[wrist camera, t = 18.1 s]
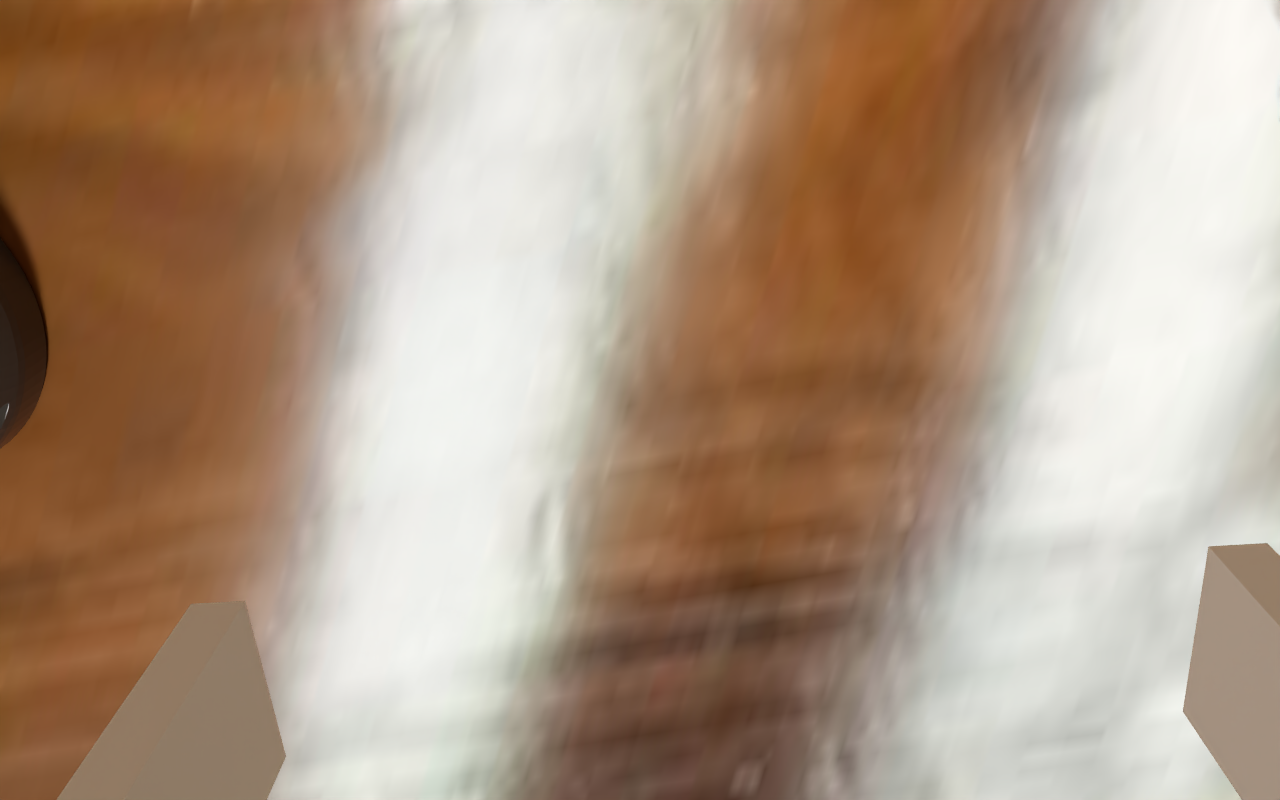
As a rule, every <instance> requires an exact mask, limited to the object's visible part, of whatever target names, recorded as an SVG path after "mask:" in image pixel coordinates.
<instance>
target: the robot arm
mask: <svg viewBox="0 0 1280 800" xmlns="http://www.w3.org/2000/svg"><path fill="white" fill-rule="evenodd" d="M46 360H47V352H46V338H45V331H44V326H43V321H42V317H41V313H40V310H39V307H38V304H37V301H36V298H35V296H34V293H33V291H32V289H31V286H30V284H29V282H28V280H27V278H26V276H25V274H24V272H23V271H22V269H21V267H20V266H19V264H18V262H17V261H16V259H15V258H14V256H13V255H12V253H11V252H10V250H9V249H8V248H7V246H6V245H5V244H4V242H3V241H2V240H1V239H0V448H2V447H3V446H4V445H5V444H7V443H8V442H9V441H10V440H11V439H12V438H13V437H14V436H15V435H16V434H17V433H18V432H19V431H20V430H21V429H22V428H23V426H24V425H25V424H26V422H27V421H28V419H29V418H30V416H31V414H32V412H33V411H34V409H35V407H36V404H37V402H38V400H39V397H40V394H41V391H42V388H43V383H44V379H45V372H46ZM1183 712H1184V714H1185V715H1186V717H1187V718H1188V720H1189V721H1190V723H1191V724H1192V726H1193V727H1194V729H1195V730H1196V732H1197V733H1198V735H1199V736H1200V738H1201V739H1202V741H1203V742H1204V744H1205V745H1206V747H1207V748H1208V750H1209V751H1210V753H1211V754H1212V756H1213V757H1214V759H1215V760H1216V762H1217V763H1218V765H1219V766H1220V768H1221V769H1222V771H1223V772H1224V773H1225V775H1226V776H1227V778H1228V779H1229V781H1230V782H1231V784H1232V785H1233V787H1234V788H1235V790H1236V791H1237V793H1238V794H1239V796H1240V797H1241V799H1242V800H1280V556H1279V555H1278V554H1277V553H1276V552H1275V551H1274V550H1273V549H1272V548H1271V547H1270V546H1269V545H1268V544H1267V543H1263V544H1245V545H1227V546H1210V547H1208V553H1207V560H1206V566H1205V573H1204V579H1203V585H1202V592H1201V598H1200V605H1199V611H1198V618H1197V624H1196V630H1195V637H1194V643H1193V650H1192V656H1191V662H1190V669H1189V675H1188V682H1187V688H1186V694H1185V701H1184V707H1183ZM285 757H286V755H285V751H284V747H283V743H282V739H281V736H280V732H279V728H278V724H277V720H276V717H275V713H274V709H273V705H272V701H271V698H270V694H269V690H268V686H267V682H266V679H265V675H264V671H263V667H262V663H261V660H260V656H259V652H258V648H257V644H256V641H255V637H254V633H253V629H252V625H251V622H250V618H249V614H248V610H247V606H246V603H245V601H236V602H218V603H200V604H191V605H190V606H189V608H188V609H187V611H186V612H185V614H184V615H183V617H182V618H181V619H180V621H179V622H178V624H177V625H176V627H175V628H174V630H173V631H172V633H171V634H170V635H169V637H168V638H167V640H166V641H165V643H164V644H163V646H162V647H161V649H160V650H159V651H158V653H157V654H156V656H155V657H154V659H153V660H152V662H151V663H150V665H149V666H148V667H147V669H146V670H145V672H144V673H143V675H142V676H141V678H140V679H139V681H138V682H137V683H136V685H135V686H134V688H133V689H132V691H131V692H130V694H129V695H128V697H127V698H126V699H125V701H124V702H123V704H122V705H121V707H120V708H119V710H118V711H117V713H116V714H115V715H114V717H113V718H112V720H111V721H110V723H109V724H108V726H107V727H106V728H105V730H104V731H103V733H102V734H101V736H100V737H99V739H98V740H97V742H96V743H95V744H94V746H93V747H92V749H91V750H90V752H89V753H88V755H87V756H86V758H85V759H84V760H83V762H82V763H81V765H80V766H79V768H78V769H77V771H76V772H75V774H74V775H73V776H72V778H71V779H70V781H69V782H68V784H67V785H66V787H65V788H64V790H63V791H62V792H61V794H60V795H59V797H58V798H57V800H267V798H268V795H269V793H270V791H271V789H272V786H273V784H274V782H275V780H276V777H277V775H278V773H279V771H280V768H281V766H282V764H283V762H284V760H285Z"/></svg>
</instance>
